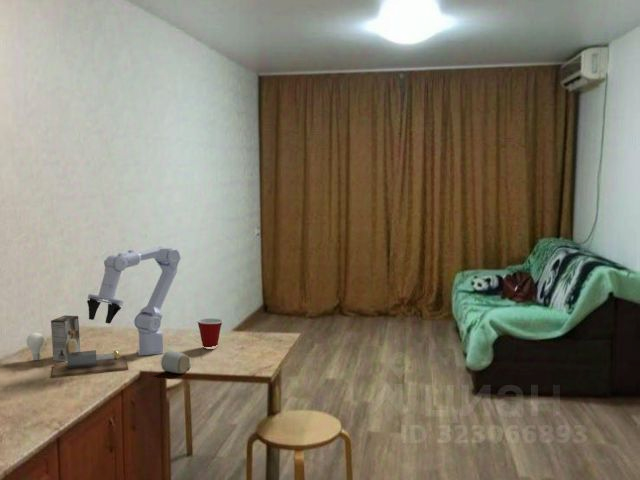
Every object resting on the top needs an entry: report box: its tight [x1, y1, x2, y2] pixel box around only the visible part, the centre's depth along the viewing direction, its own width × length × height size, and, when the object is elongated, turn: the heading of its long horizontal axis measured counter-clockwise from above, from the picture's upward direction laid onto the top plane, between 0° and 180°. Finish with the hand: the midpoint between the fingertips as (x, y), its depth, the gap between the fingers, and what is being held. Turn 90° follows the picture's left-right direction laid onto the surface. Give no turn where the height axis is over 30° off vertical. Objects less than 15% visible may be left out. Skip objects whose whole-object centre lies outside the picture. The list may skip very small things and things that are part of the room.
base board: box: [52, 356, 129, 378], centre depth 234 cm, size 26×14×1 cm, turn 110°
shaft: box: [96, 350, 120, 360], centre depth 234 cm, size 16×4×4 cm, turn 110°
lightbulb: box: [25, 332, 45, 361], centre depth 242 cm, size 6×6×11 cm
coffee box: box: [50, 315, 81, 362], centre depth 246 cm, size 9×6×16 cm
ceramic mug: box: [160, 350, 192, 375], centre depth 230 cm, size 11×8×8 cm
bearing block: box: [66, 350, 97, 370], centre depth 232 cm, size 10×6×5 cm, turn 110°
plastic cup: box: [196, 318, 224, 347], centre depth 260 cm, size 11×11×12 cm
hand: (99, 321), depth 233 cm, fingers open, 7 cm apart
